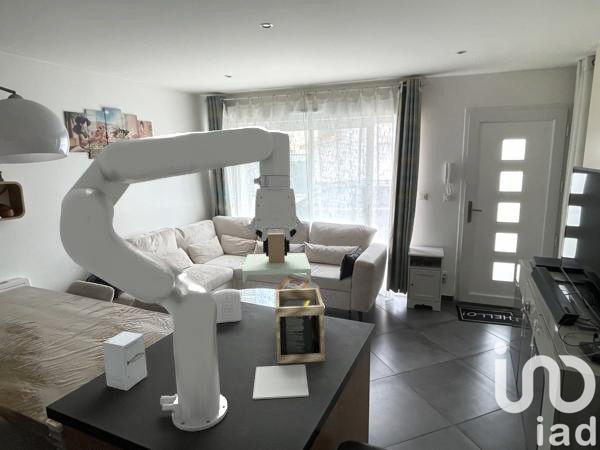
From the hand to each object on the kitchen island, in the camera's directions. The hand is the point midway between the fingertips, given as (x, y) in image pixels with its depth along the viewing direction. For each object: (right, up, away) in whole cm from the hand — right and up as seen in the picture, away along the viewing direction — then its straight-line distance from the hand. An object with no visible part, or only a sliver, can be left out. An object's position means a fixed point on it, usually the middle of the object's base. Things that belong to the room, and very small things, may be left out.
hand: (276, 254), depth 91 cm
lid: (0, -4, +1) cm, 4 cm away
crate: (+6, -32, +22) cm, 39 cm away
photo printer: (-21, -29, +45) cm, 57 cm away
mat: (+1, -35, +5) cm, 35 cm away
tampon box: (+6, -32, +22) cm, 39 cm away
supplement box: (-41, -36, +7) cm, 55 cm away
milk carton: (+6, -29, +39) cm, 49 cm away
